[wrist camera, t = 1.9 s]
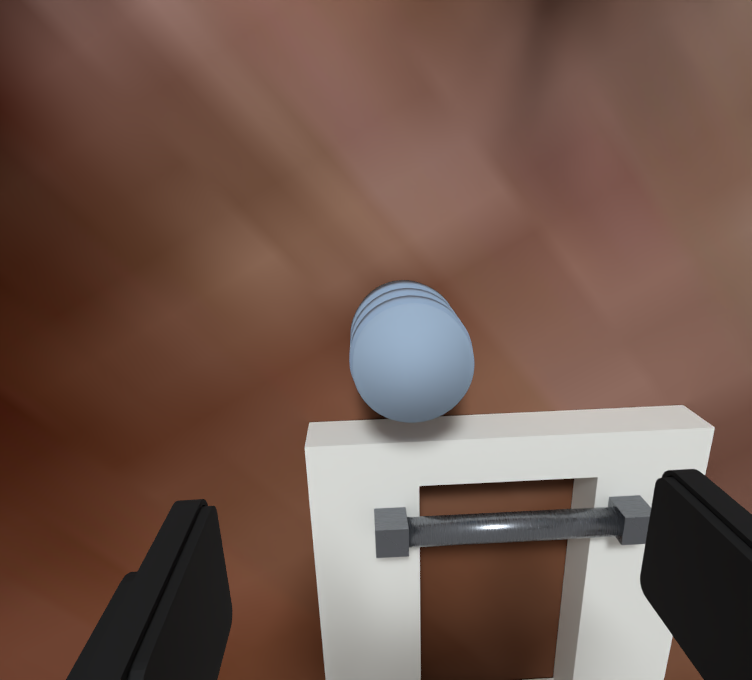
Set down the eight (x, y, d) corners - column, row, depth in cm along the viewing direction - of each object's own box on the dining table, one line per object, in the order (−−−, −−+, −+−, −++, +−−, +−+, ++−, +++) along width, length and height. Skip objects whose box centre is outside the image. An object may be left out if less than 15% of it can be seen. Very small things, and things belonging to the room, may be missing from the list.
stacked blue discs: (453, 274, 24) (480, 302, 19) (452, 372, 26) (476, 423, 20) (348, 279, 24) (345, 308, 19) (353, 377, 26) (352, 428, 20)
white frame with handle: (683, 405, 27) (714, 427, 24) (630, 700, 34) (651, 740, 31) (309, 422, 26) (304, 447, 24) (334, 717, 33) (332, 759, 31)
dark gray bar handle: (639, 494, 25) (658, 516, 24) (635, 520, 26) (653, 543, 24) (373, 507, 25) (374, 530, 24) (375, 534, 26) (376, 558, 24)
